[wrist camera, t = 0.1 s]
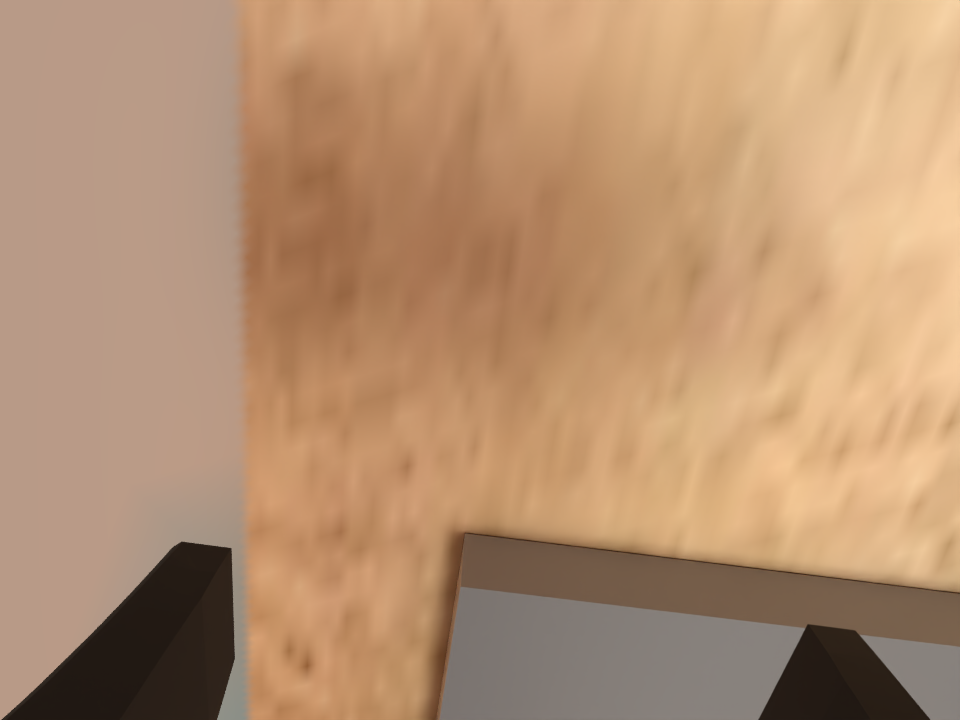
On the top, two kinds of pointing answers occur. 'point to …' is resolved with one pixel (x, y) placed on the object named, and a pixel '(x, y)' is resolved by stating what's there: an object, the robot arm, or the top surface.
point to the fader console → (666, 635)
